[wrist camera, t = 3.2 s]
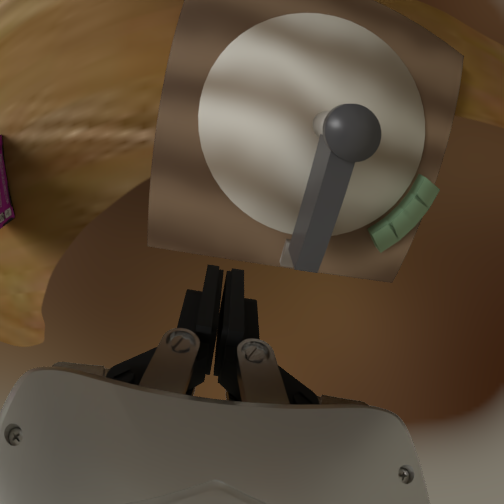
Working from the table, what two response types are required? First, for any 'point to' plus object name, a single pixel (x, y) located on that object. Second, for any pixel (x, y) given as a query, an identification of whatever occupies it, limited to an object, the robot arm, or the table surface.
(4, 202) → the candy bar box
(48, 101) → the table surface
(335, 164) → the lever with ball knob
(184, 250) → the tuner base
